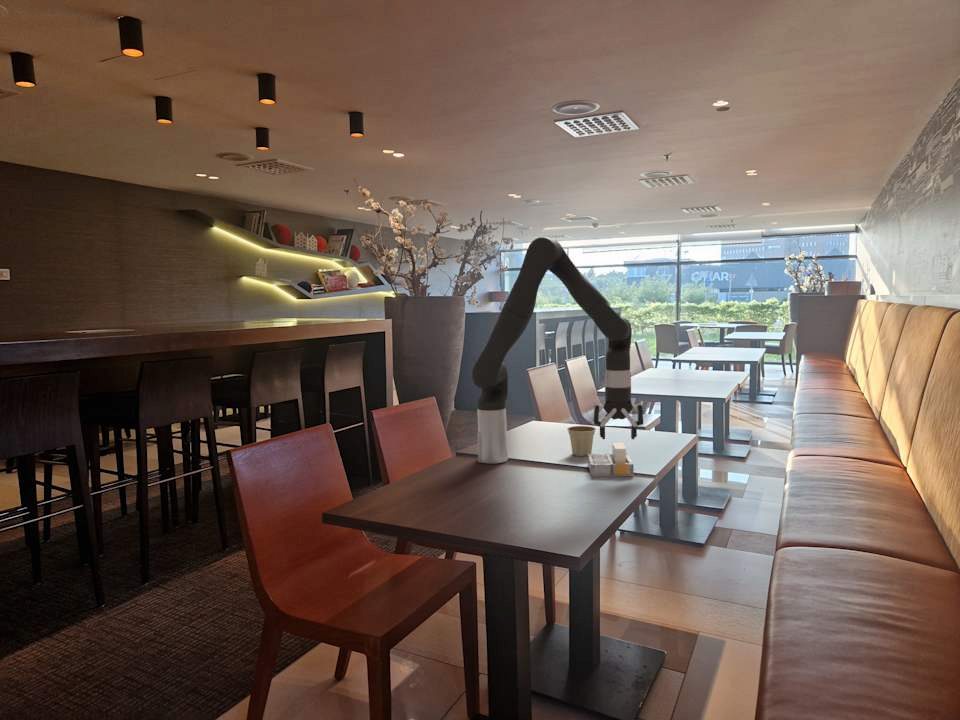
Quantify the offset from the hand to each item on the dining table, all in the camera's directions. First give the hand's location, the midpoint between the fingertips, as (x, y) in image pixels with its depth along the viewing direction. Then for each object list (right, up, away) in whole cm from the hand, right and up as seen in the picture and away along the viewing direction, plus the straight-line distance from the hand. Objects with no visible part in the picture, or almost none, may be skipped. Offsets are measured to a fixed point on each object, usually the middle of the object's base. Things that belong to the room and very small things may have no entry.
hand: (618, 438), depth 185 cm
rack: (-2, -10, +1) cm, 10 cm away
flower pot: (-7, -8, +22) cm, 25 cm away
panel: (0, -9, +1) cm, 9 cm away
